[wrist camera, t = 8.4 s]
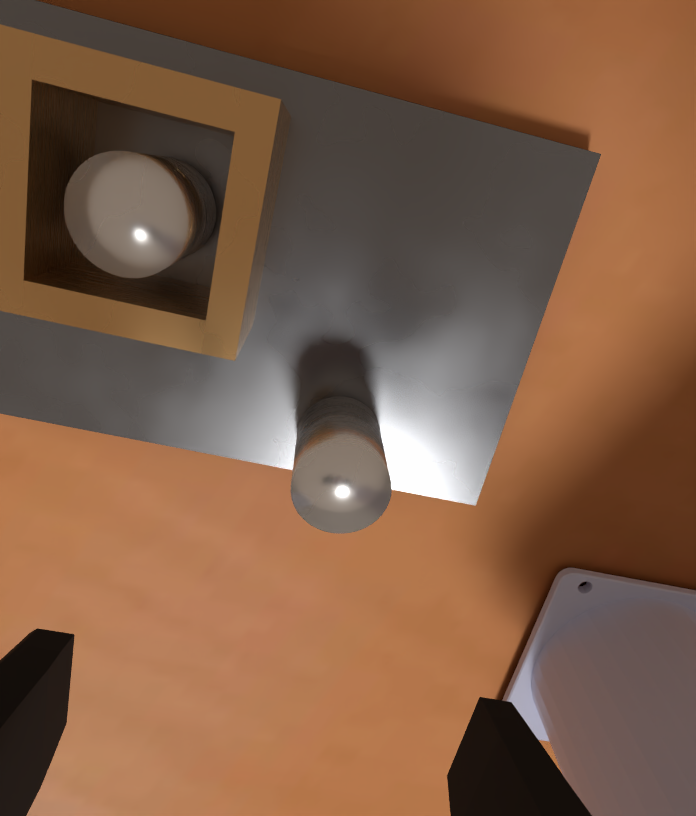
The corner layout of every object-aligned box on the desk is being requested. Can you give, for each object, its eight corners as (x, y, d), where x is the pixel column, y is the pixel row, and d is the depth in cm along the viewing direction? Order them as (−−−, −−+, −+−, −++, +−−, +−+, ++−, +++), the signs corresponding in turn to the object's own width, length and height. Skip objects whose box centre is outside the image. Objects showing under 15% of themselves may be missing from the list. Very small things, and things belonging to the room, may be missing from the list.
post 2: (389, 406, 18) (403, 455, 15) (369, 479, 19) (377, 541, 16) (306, 388, 18) (302, 435, 15) (289, 463, 19) (281, 523, 16)
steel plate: (588, 155, 17) (600, 154, 16) (470, 493, 20) (475, 505, 20) (-8, -7, 15) (-26, -17, 14) (-15, 398, 19) (-30, 407, 18)
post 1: (223, 169, 16) (195, 168, 12) (208, 267, 17) (179, 289, 13) (122, 145, 15) (68, 136, 12) (113, 246, 16) (60, 263, 13)
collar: (291, 116, 15) (281, 99, 12) (253, 324, 17) (234, 360, 14) (67, 57, 15) (-11, 21, 11) (54, 281, 17) (-16, 307, 13)
